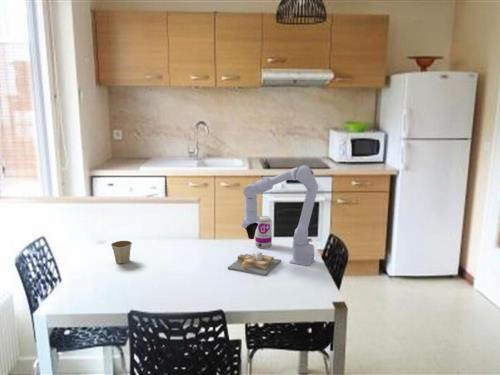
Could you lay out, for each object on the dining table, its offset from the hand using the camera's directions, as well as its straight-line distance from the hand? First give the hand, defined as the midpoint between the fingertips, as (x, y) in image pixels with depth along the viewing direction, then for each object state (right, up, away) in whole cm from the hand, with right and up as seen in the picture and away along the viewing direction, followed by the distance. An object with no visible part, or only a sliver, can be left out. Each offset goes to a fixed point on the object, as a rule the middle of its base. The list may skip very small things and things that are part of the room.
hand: (251, 238), depth 200 cm
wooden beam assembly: (+1, -10, -6) cm, 12 cm away
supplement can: (+6, -6, +19) cm, 21 cm away
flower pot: (-60, -11, 0) cm, 61 cm away
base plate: (+2, -11, -6) cm, 13 cm away
